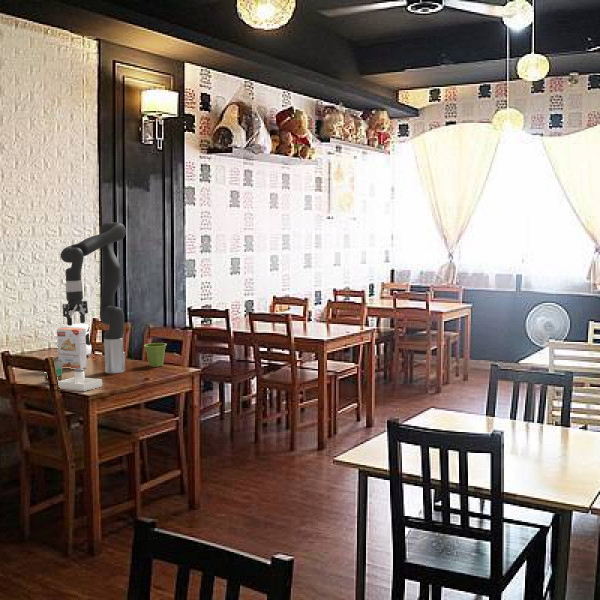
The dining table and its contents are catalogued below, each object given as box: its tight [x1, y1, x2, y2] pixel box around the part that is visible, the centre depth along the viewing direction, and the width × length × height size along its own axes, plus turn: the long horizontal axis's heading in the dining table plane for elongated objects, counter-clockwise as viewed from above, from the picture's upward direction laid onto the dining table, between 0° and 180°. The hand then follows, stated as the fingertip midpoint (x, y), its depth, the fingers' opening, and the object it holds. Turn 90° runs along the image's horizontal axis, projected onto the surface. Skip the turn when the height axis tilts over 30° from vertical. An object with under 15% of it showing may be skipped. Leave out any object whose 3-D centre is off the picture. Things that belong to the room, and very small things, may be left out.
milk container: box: [59, 323, 92, 357], centre depth 439 cm, size 17×17×18 cm
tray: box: [58, 376, 103, 392], centre depth 355 cm, size 12×16×4 cm
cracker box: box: [56, 328, 88, 369], centre depth 405 cm, size 14×6×21 cm, turn 68°
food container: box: [44, 358, 63, 385], centre depth 369 cm, size 12×6×10 cm, turn 168°
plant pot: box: [143, 342, 168, 368], centre depth 408 cm, size 12×12×11 cm
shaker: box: [73, 368, 86, 384], centre depth 355 cm, size 4×4×8 cm
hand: (76, 324), depth 367 cm, fingers open, 8 cm apart
